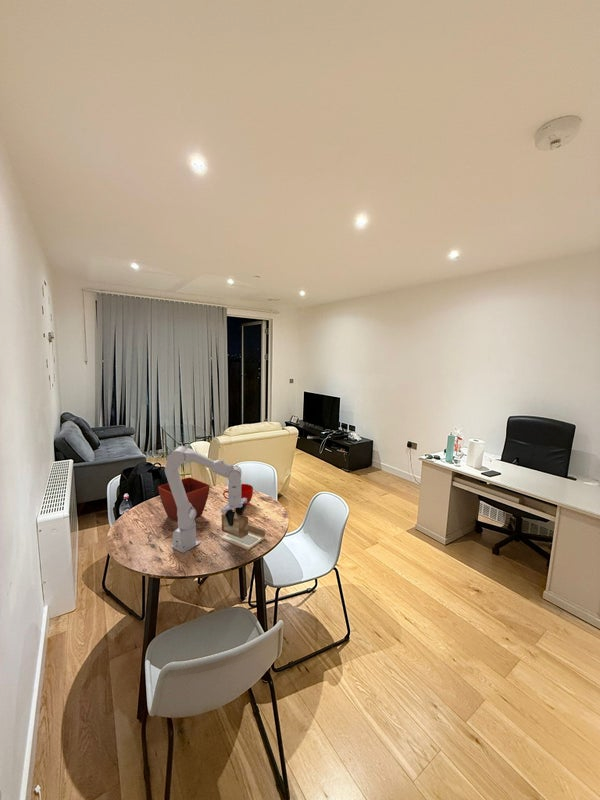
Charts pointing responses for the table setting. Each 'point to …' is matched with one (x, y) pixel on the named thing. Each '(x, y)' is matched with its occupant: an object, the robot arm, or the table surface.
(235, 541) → the tan rimmed flat piece
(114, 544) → the table surface
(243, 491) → the ceramic cup
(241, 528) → the brown slab
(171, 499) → the plant pot
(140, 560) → the table surface
